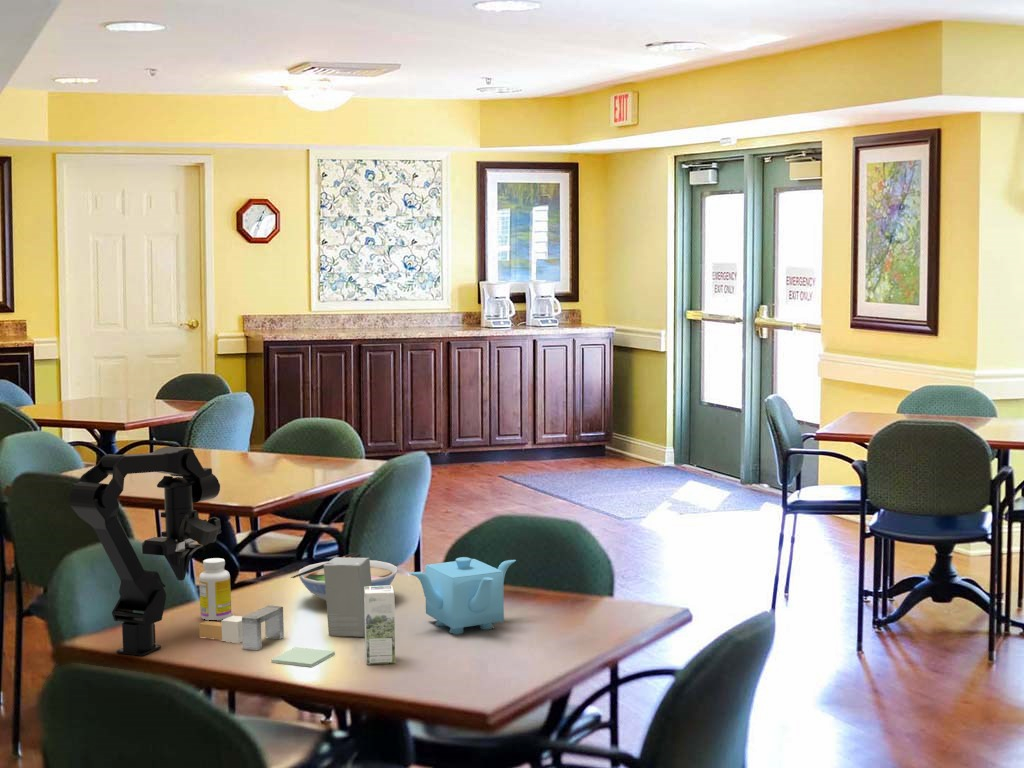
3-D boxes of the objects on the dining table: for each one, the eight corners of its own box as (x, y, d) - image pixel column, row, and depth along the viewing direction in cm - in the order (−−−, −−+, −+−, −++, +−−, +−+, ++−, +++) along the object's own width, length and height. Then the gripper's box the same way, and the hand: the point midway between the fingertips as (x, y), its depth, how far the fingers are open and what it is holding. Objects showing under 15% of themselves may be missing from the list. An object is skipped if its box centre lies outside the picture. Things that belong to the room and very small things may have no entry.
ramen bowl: (356, 621, 300) (355, 584, 299) (274, 608, 311) (273, 572, 310) (420, 595, 321) (420, 561, 320) (341, 584, 333) (341, 551, 332)
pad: (311, 667, 267) (311, 664, 267) (271, 662, 270) (271, 659, 270) (334, 654, 275) (334, 651, 275) (295, 649, 278) (295, 646, 278)
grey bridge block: (257, 650, 278) (256, 618, 278) (242, 648, 280) (241, 617, 279) (283, 637, 288) (283, 606, 287) (269, 635, 289) (268, 605, 288)
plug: (238, 643, 284) (237, 622, 283) (197, 638, 287) (196, 617, 287) (249, 638, 287) (248, 617, 287) (208, 633, 291) (208, 612, 291)
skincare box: (375, 630, 292) (373, 556, 291) (362, 639, 286) (360, 564, 284) (337, 627, 295) (336, 554, 293) (324, 636, 288) (322, 562, 286)
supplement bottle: (235, 613, 307) (233, 557, 306) (226, 621, 300) (224, 563, 299) (206, 613, 307) (204, 556, 306) (196, 621, 301) (194, 563, 300)
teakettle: (439, 612, 306) (437, 547, 305) (520, 617, 301) (519, 551, 299) (408, 635, 288) (406, 566, 287) (493, 641, 283) (492, 571, 282)
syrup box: (394, 655, 274) (392, 583, 273) (395, 664, 268) (394, 590, 267) (365, 656, 273) (363, 585, 272) (366, 665, 267) (364, 592, 266)
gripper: (184, 517, 277) (186, 593, 278) (236, 501, 294) (238, 573, 295) (138, 513, 281) (141, 588, 282) (192, 498, 298) (194, 569, 300)
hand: (181, 580), depth 290 cm, fingers closed
